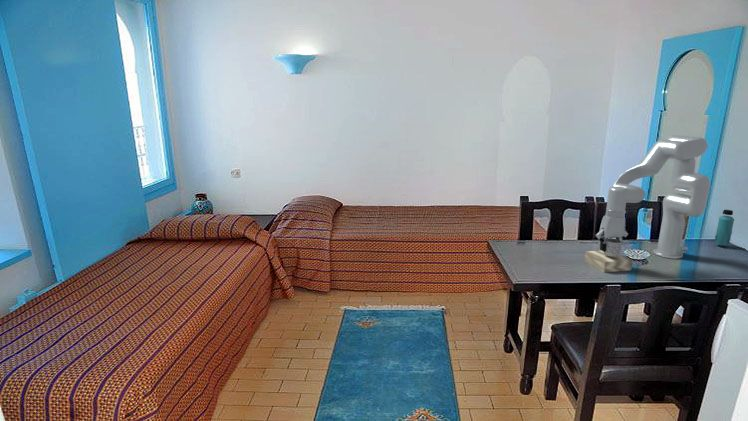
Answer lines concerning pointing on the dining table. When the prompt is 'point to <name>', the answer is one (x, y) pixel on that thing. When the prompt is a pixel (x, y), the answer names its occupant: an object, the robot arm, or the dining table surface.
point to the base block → (608, 261)
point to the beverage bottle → (724, 228)
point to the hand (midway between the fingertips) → (609, 249)
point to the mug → (612, 247)
